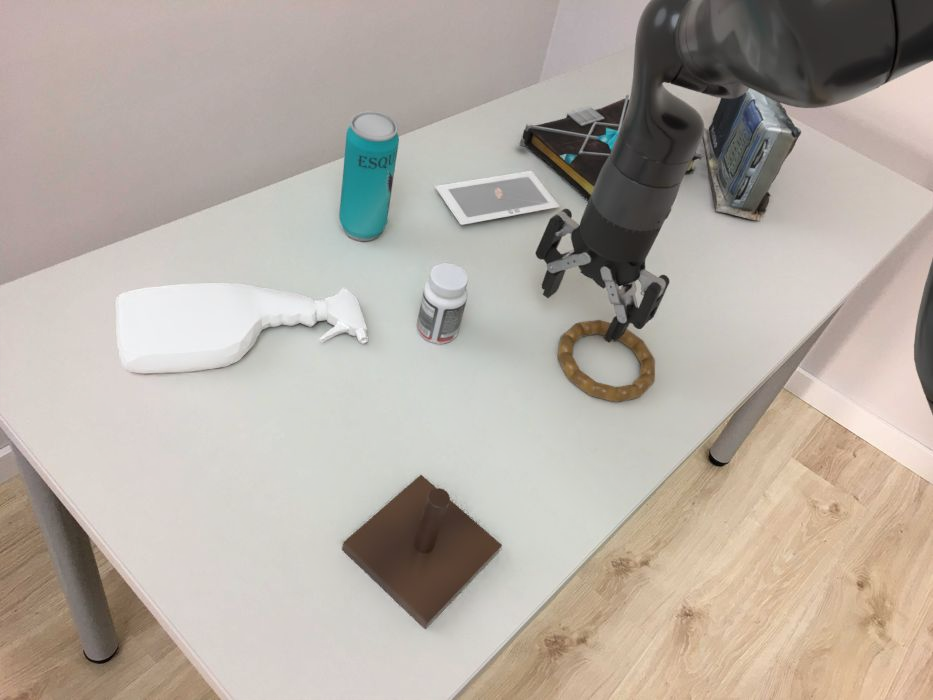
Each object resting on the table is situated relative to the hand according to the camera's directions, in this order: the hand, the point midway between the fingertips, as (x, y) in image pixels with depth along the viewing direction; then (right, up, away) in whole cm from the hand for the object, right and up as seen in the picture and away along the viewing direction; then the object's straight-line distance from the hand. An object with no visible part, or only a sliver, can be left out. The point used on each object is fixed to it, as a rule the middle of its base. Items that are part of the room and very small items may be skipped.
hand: (579, 315), depth 88 cm
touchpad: (-9, +16, +17) cm, 25 cm away
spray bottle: (-36, -2, -5) cm, 36 cm away
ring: (+3, -5, +1) cm, 6 cm away
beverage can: (-25, +11, +8) cm, 29 cm away
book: (+8, +24, +29) cm, 38 cm away
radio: (+26, +23, +32) cm, 47 cm away
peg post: (-17, -22, -18) cm, 33 cm away
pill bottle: (-16, -2, 0) cm, 16 cm away
